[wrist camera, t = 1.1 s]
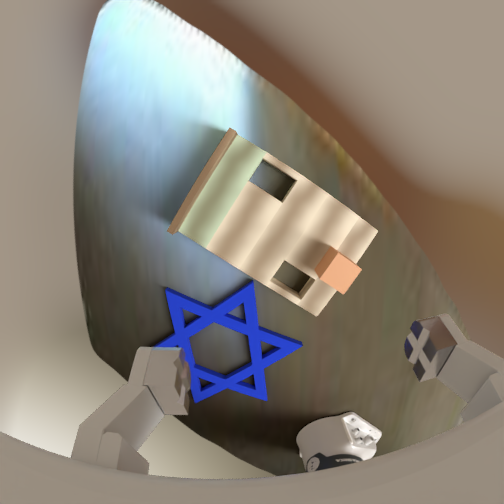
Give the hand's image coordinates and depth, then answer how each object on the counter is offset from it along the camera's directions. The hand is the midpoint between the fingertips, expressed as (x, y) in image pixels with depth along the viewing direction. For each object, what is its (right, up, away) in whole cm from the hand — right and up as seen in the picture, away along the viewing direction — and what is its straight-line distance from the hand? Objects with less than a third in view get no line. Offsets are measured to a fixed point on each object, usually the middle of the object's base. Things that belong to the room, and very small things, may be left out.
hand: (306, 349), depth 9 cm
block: (+11, +1, +35) cm, 37 cm away
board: (+3, +7, +37) cm, 37 cm away
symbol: (-8, -15, +43) cm, 46 cm away
